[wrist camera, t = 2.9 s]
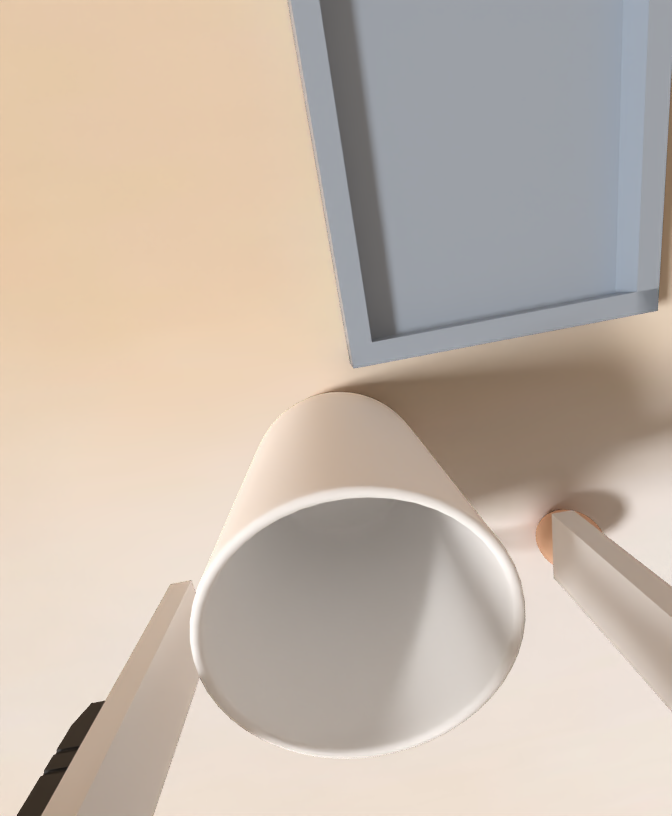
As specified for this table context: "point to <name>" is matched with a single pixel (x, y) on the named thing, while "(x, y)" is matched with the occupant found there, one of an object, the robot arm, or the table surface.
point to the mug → (353, 590)
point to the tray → (486, 164)
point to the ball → (545, 534)
